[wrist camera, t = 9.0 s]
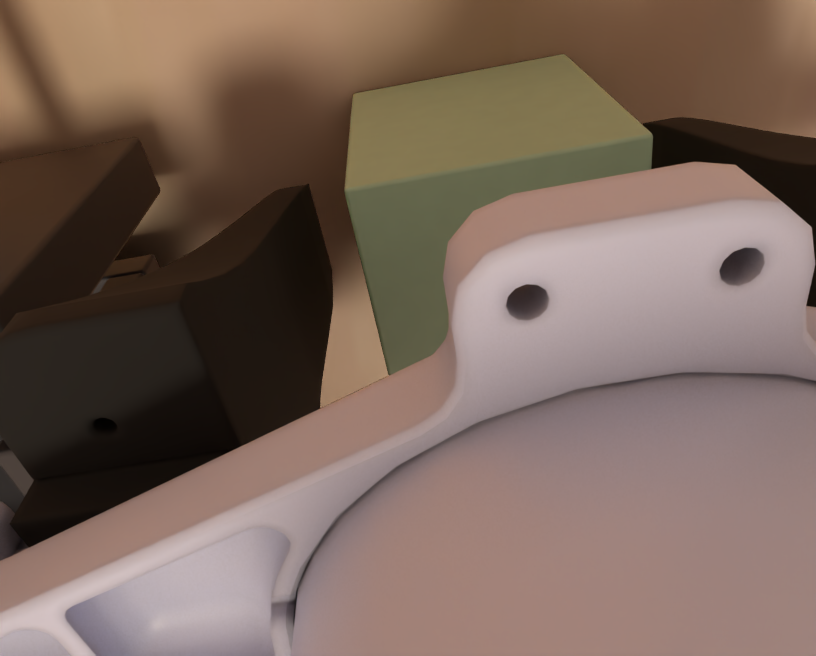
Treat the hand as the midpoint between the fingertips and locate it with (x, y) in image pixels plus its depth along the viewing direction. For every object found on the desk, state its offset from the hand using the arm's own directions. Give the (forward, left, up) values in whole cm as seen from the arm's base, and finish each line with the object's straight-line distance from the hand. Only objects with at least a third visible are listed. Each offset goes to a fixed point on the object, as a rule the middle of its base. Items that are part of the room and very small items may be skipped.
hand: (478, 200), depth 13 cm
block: (0, 0, -1) cm, 1 cm away
